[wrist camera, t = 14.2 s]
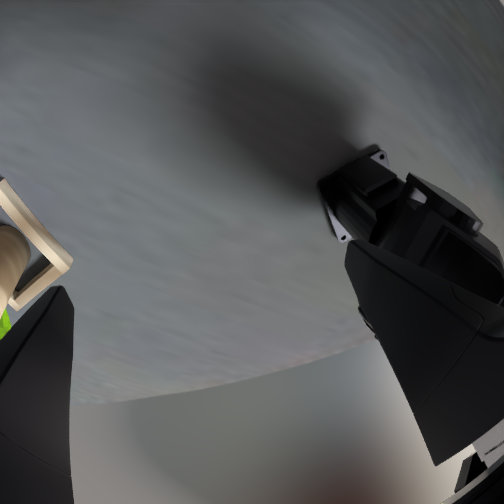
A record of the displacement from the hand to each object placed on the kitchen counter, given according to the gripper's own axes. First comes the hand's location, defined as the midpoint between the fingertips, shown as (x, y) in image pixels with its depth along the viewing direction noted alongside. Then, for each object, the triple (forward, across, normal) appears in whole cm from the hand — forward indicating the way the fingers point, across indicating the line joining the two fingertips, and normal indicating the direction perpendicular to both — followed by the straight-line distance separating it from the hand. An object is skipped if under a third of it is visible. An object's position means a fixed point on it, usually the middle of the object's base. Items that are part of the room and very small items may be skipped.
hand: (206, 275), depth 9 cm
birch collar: (+13, +17, +5) cm, 22 cm away
